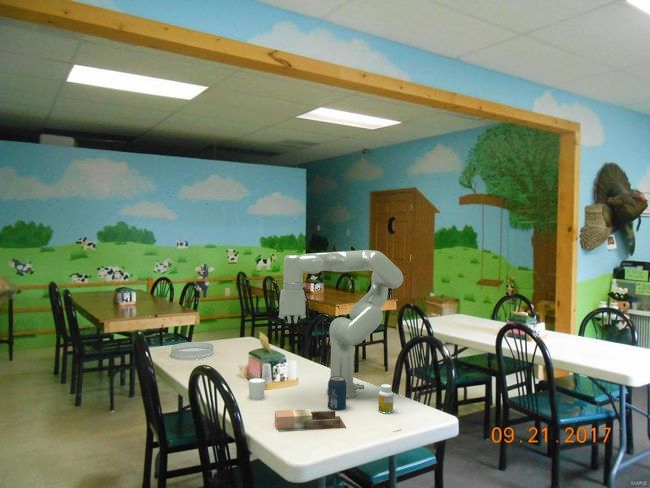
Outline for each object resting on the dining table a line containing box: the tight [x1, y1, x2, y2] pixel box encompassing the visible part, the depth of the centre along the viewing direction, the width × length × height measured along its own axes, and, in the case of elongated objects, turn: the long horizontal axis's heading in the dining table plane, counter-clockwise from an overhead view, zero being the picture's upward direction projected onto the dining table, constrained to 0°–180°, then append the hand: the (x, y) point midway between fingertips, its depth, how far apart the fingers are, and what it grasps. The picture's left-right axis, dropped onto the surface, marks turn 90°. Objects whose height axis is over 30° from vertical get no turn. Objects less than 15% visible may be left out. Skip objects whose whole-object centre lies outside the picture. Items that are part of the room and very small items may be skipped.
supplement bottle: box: [378, 383, 394, 414], centre depth 186 cm, size 5×5×10 cm
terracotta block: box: [274, 409, 295, 430], centre depth 168 cm, size 6×6×4 cm
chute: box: [277, 410, 347, 433], centre depth 170 cm, size 23×11×4 cm, turn 101°
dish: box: [170, 341, 215, 361], centre depth 265 cm, size 22×22×5 cm
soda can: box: [327, 376, 347, 411], centre depth 187 cm, size 7×7×12 cm
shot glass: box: [248, 377, 266, 401], centre depth 199 cm, size 7×7×7 cm
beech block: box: [291, 408, 312, 428], centre depth 169 cm, size 6×6×4 cm
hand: (291, 332), depth 195 cm, fingers closed
